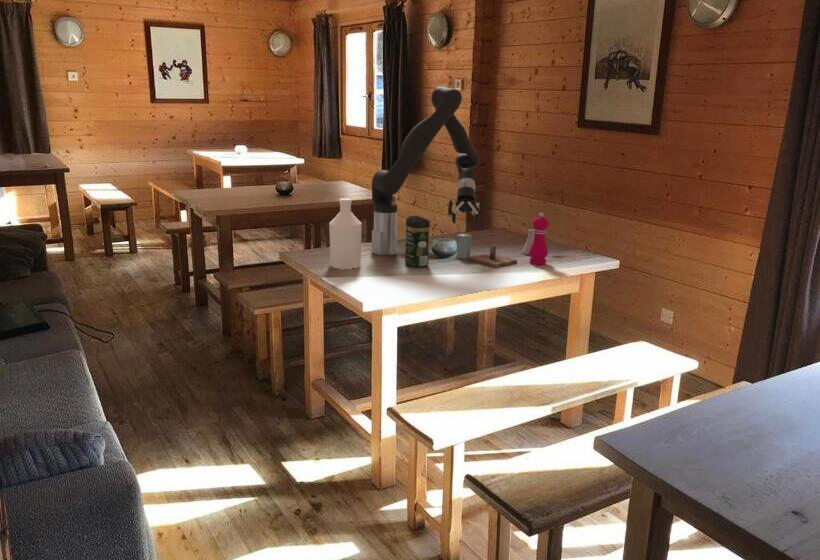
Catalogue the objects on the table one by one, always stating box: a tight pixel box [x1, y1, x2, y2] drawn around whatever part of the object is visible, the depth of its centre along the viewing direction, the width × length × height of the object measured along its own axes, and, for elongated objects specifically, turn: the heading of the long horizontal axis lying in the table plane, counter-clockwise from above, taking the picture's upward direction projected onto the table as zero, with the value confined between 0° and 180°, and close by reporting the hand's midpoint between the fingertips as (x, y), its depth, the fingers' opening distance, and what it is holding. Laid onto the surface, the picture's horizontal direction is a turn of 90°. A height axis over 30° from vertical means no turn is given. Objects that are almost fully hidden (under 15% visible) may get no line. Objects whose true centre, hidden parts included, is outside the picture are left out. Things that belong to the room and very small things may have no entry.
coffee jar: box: [404, 215, 431, 268], centre depth 254 cm, size 10×8×19 cm
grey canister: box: [456, 233, 472, 260], centre depth 270 cm, size 5×5×9 cm
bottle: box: [328, 197, 363, 270], centre depth 249 cm, size 12×12×25 cm
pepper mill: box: [529, 212, 550, 266], centre depth 261 cm, size 7×7×20 cm
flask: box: [521, 228, 534, 256], centre depth 279 cm, size 7×7×10 cm
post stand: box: [467, 245, 518, 268], centre depth 264 cm, size 13×14×6 cm
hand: (464, 223), depth 276 cm, fingers open, 8 cm apart
